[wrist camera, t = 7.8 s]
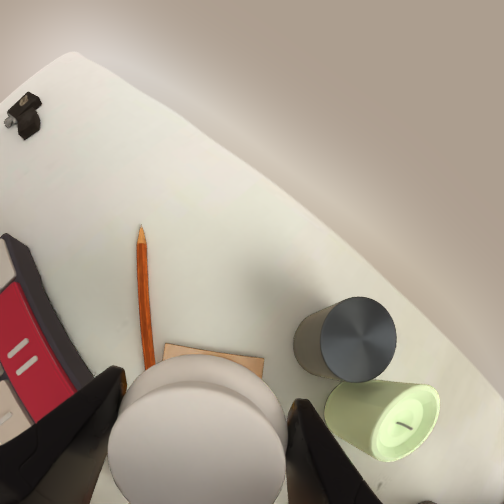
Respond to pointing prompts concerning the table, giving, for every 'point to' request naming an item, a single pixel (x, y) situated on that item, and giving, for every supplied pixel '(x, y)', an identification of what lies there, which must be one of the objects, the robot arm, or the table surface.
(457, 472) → the table surface
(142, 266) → the pencil
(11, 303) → the calculator
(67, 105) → the table surface
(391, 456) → the candle
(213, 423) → the supplement bottle
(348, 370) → the grey tin
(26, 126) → the lighter
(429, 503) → the bottle
